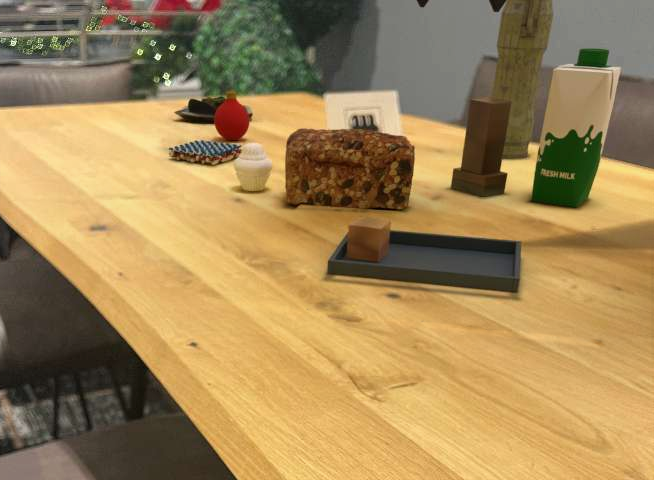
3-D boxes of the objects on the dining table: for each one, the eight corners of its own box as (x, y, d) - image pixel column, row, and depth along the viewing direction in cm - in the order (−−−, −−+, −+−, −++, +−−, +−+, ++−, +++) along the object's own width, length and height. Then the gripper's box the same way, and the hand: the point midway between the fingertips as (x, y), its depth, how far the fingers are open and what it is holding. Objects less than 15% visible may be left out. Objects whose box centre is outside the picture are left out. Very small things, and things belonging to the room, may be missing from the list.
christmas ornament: (218, 144, 152) (216, 87, 146) (212, 137, 158) (210, 82, 152) (252, 142, 153) (252, 86, 148) (245, 136, 159) (244, 82, 153)
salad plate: (179, 110, 186) (178, 88, 183) (252, 110, 187) (252, 89, 184) (172, 123, 170) (171, 100, 168) (252, 124, 171) (252, 101, 168)
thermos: (517, 147, 151) (556, -73, 131) (536, 160, 142) (580, -75, 122) (473, 147, 151) (505, -73, 131) (489, 160, 142) (525, -76, 121)
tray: (518, 258, 95) (521, 241, 93) (516, 297, 83) (519, 278, 82) (350, 243, 99) (351, 226, 98) (327, 278, 88) (327, 260, 87)
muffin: (227, 190, 121) (225, 142, 117) (245, 182, 125) (244, 136, 121) (262, 195, 119) (262, 146, 115) (278, 187, 123) (279, 140, 119)
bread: (283, 208, 113) (283, 134, 107) (290, 190, 121) (291, 121, 116) (410, 212, 111) (417, 138, 105) (408, 194, 120) (415, 125, 114)
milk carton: (595, 197, 119) (630, 50, 108) (580, 210, 113) (616, 55, 102) (539, 190, 123) (568, 46, 112) (522, 201, 117) (550, 51, 105)
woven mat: (215, 166, 135) (214, 154, 134) (167, 159, 140) (166, 147, 138) (246, 156, 143) (246, 144, 141) (199, 150, 147) (199, 138, 146)
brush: (504, 193, 121) (520, 101, 114) (482, 197, 119) (497, 104, 112) (472, 184, 126) (485, 96, 119) (450, 188, 124) (462, 98, 116)
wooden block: (388, 253, 94) (391, 220, 91) (377, 263, 91) (380, 228, 88) (357, 249, 95) (359, 216, 93) (346, 258, 92) (348, 224, 90)
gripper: (306, -118, 96) (385, 19, 112) (452, -133, 79) (519, 30, 95) (341, -170, 95) (415, -25, 111) (495, -196, 79) (555, -21, 95)
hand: (463, 1), depth 103 cm, fingers open, 13 cm apart
